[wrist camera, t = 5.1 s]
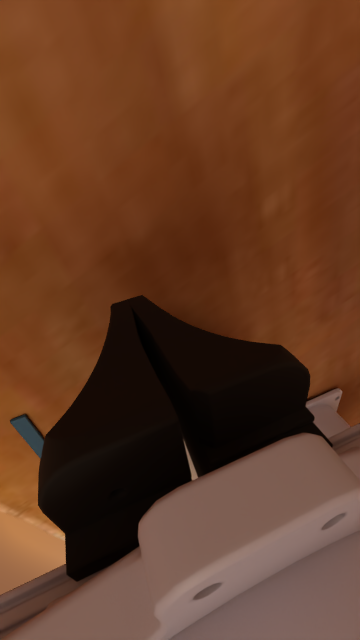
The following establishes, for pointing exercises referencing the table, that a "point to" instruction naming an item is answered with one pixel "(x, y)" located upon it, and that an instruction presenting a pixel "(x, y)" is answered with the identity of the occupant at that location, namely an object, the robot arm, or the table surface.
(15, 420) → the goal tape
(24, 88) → the table surface
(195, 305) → the table surface
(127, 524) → the robot arm
